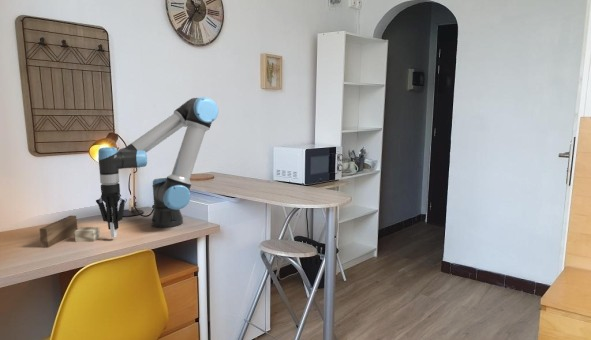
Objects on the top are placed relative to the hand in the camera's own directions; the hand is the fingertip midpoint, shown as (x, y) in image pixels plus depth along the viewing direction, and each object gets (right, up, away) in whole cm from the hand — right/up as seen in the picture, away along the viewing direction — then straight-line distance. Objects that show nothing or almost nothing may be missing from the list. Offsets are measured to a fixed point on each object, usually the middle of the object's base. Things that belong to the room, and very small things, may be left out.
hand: (114, 236), depth 189 cm
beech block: (-12, -2, +1) cm, 12 cm away
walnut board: (-24, -2, +2) cm, 24 cm away
